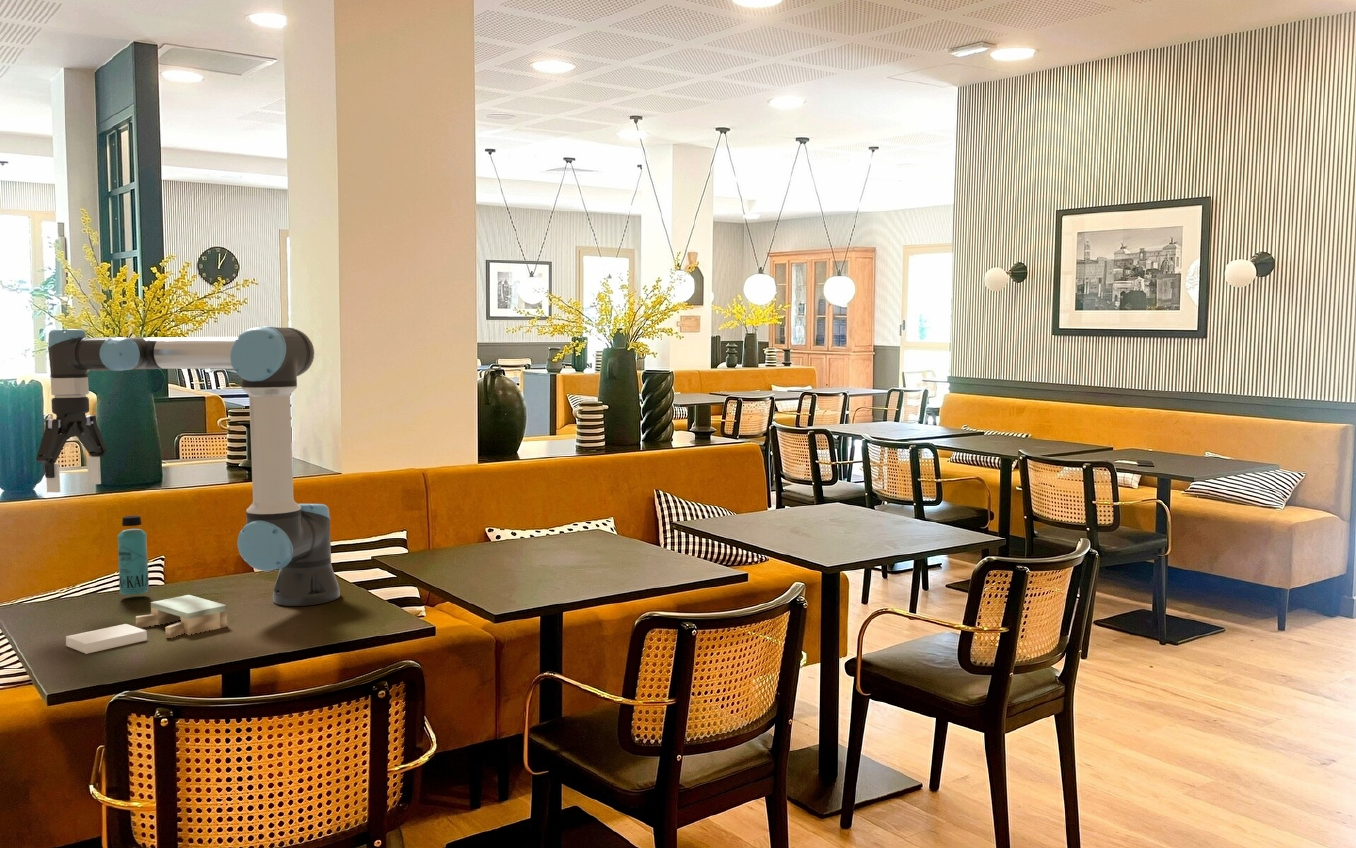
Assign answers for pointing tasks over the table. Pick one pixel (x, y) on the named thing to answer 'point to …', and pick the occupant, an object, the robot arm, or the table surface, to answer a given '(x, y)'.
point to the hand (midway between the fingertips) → (74, 488)
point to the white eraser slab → (106, 638)
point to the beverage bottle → (132, 558)
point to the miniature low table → (185, 615)
